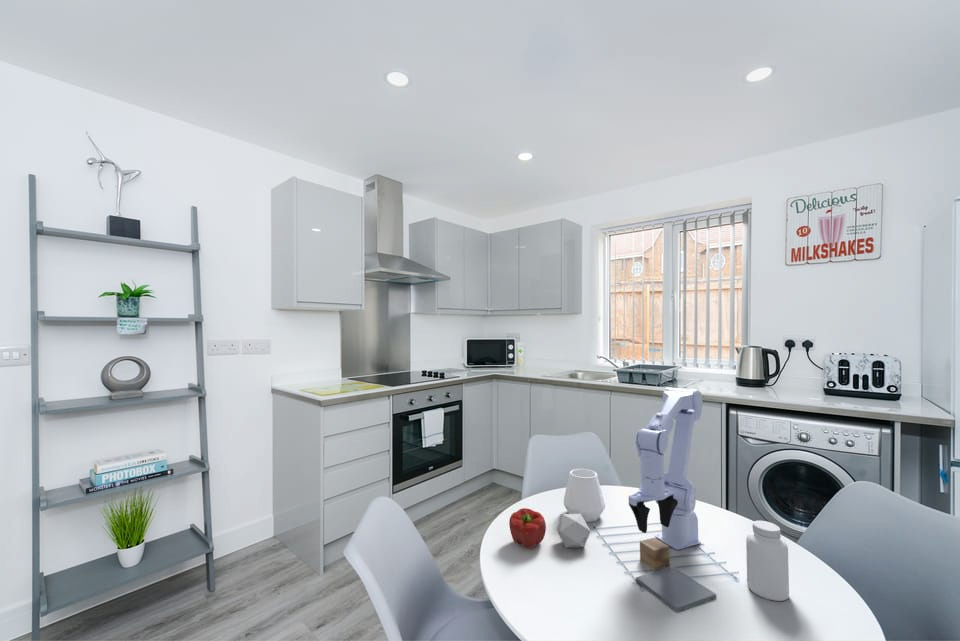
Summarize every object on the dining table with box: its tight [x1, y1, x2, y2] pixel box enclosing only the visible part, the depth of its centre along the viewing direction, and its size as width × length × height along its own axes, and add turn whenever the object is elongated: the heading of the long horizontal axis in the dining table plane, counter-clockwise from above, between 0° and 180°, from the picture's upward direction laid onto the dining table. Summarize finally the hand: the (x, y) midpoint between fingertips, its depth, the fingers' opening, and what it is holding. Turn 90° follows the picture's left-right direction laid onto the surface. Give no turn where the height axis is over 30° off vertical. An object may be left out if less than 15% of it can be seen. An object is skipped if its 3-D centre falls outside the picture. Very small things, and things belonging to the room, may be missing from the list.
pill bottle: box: [745, 520, 790, 602], centre depth 94 cm, size 8×8×15 cm
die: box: [556, 513, 591, 549], centre depth 115 cm, size 8×9×10 cm
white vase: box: [563, 468, 606, 523], centre depth 134 cm, size 13×13×14 cm
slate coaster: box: [635, 565, 717, 613], centre depth 95 cm, size 12×12×1 cm
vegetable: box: [508, 507, 547, 549], centre depth 115 cm, size 11×10×10 cm
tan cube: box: [639, 537, 671, 571], centre depth 106 cm, size 5×5×5 cm
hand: (653, 528), depth 106 cm, fingers open, 7 cm apart
